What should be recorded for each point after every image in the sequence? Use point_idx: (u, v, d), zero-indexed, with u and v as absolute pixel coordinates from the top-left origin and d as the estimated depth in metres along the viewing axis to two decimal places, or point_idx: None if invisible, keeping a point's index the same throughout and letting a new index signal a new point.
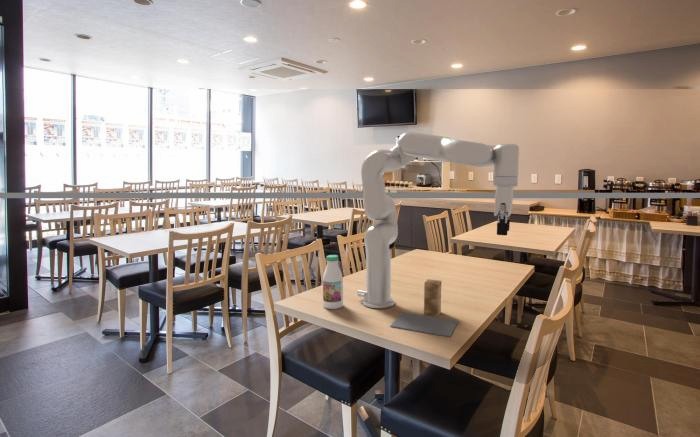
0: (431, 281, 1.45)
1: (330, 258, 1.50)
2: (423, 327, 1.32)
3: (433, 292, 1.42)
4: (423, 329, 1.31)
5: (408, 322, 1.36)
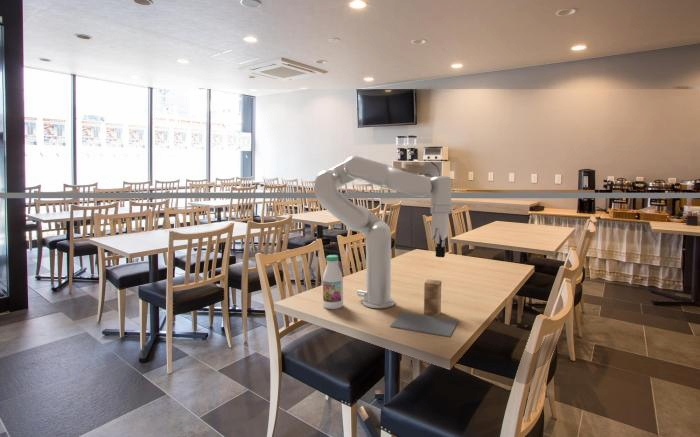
0: (431, 281, 1.45)
1: (330, 258, 1.50)
2: (423, 327, 1.32)
3: (433, 292, 1.42)
4: (423, 329, 1.31)
5: (408, 322, 1.36)
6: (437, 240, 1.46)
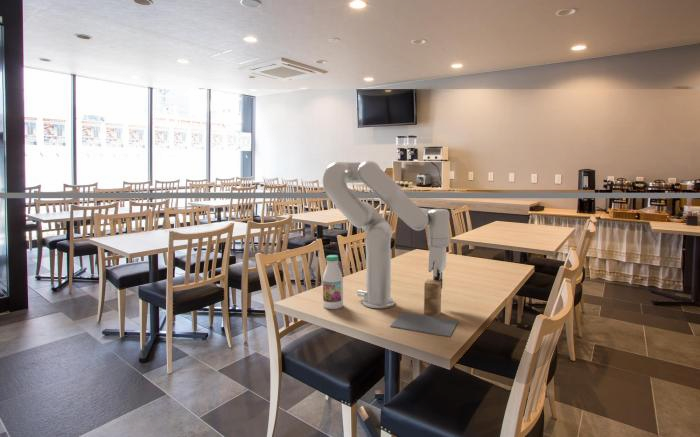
0: (431, 281, 1.45)
1: (330, 258, 1.50)
2: (423, 327, 1.32)
3: (433, 292, 1.42)
4: (423, 329, 1.31)
5: (408, 322, 1.36)
6: (434, 273, 1.46)
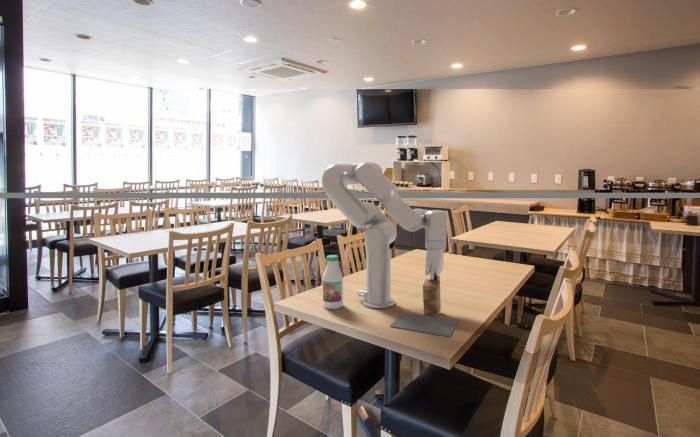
0: (429, 282, 1.42)
1: (330, 258, 1.50)
2: (423, 327, 1.32)
3: (431, 294, 1.41)
4: (423, 329, 1.31)
5: (408, 322, 1.36)
6: (432, 277, 1.42)
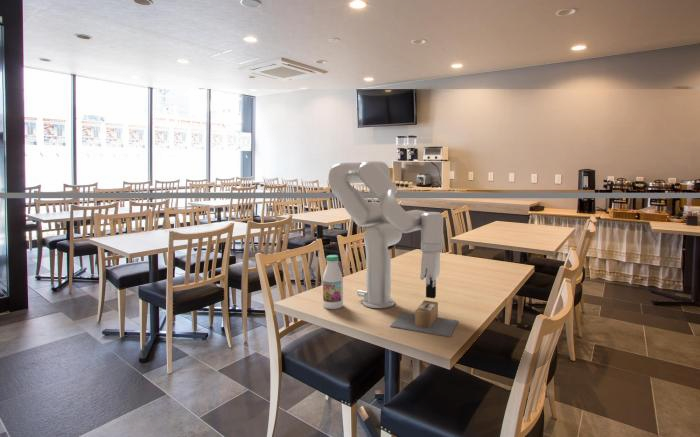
0: (420, 318, 1.33)
1: (330, 258, 1.50)
2: (423, 327, 1.32)
3: None
4: (423, 329, 1.31)
5: (408, 322, 1.36)
6: (427, 281, 1.37)
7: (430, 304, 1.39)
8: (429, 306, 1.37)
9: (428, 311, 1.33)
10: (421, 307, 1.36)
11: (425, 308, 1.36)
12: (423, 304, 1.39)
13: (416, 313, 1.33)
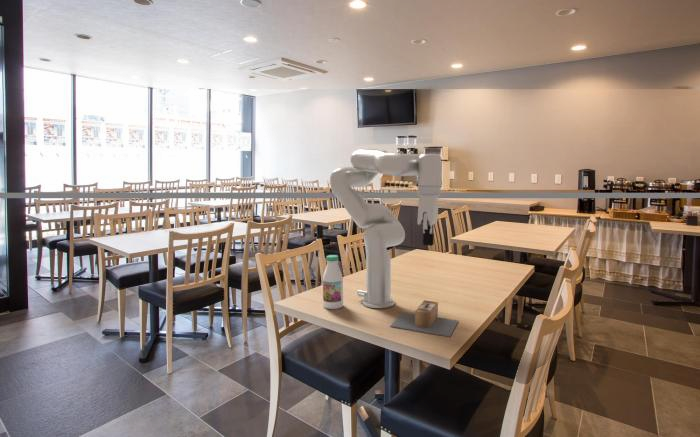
0: (420, 318, 1.33)
1: (330, 258, 1.50)
2: (423, 327, 1.32)
3: None
4: (423, 329, 1.31)
5: (408, 322, 1.36)
6: (424, 226, 1.30)
7: (430, 304, 1.39)
8: (429, 306, 1.37)
9: (428, 311, 1.33)
10: (421, 307, 1.36)
11: (425, 308, 1.36)
12: (423, 304, 1.39)
13: (416, 313, 1.33)
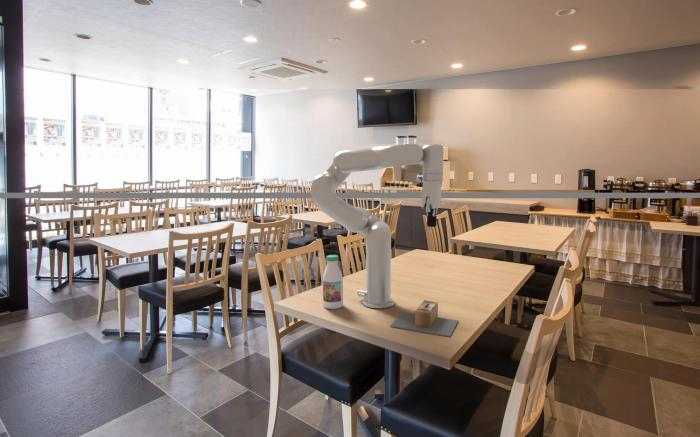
0: (420, 318, 1.33)
1: (330, 258, 1.50)
2: (423, 327, 1.32)
3: None
4: (423, 329, 1.31)
5: (408, 322, 1.36)
6: (427, 208, 1.45)
7: (430, 304, 1.39)
8: (429, 306, 1.37)
9: (428, 311, 1.33)
10: (421, 307, 1.36)
11: (425, 308, 1.36)
12: (423, 304, 1.39)
13: (416, 313, 1.33)
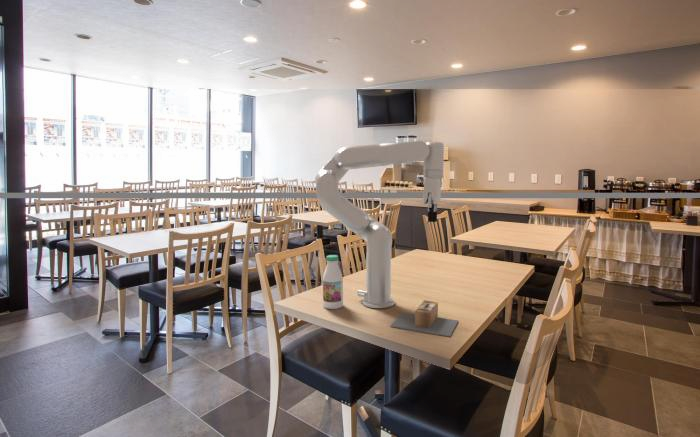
0: (420, 318, 1.33)
1: (330, 258, 1.50)
2: (423, 327, 1.32)
3: None
4: (423, 329, 1.31)
5: (408, 322, 1.36)
6: (429, 204, 1.50)
7: (430, 304, 1.39)
8: (429, 306, 1.37)
9: (428, 311, 1.33)
10: (421, 307, 1.36)
11: (425, 308, 1.36)
12: (423, 304, 1.39)
13: (416, 313, 1.33)
